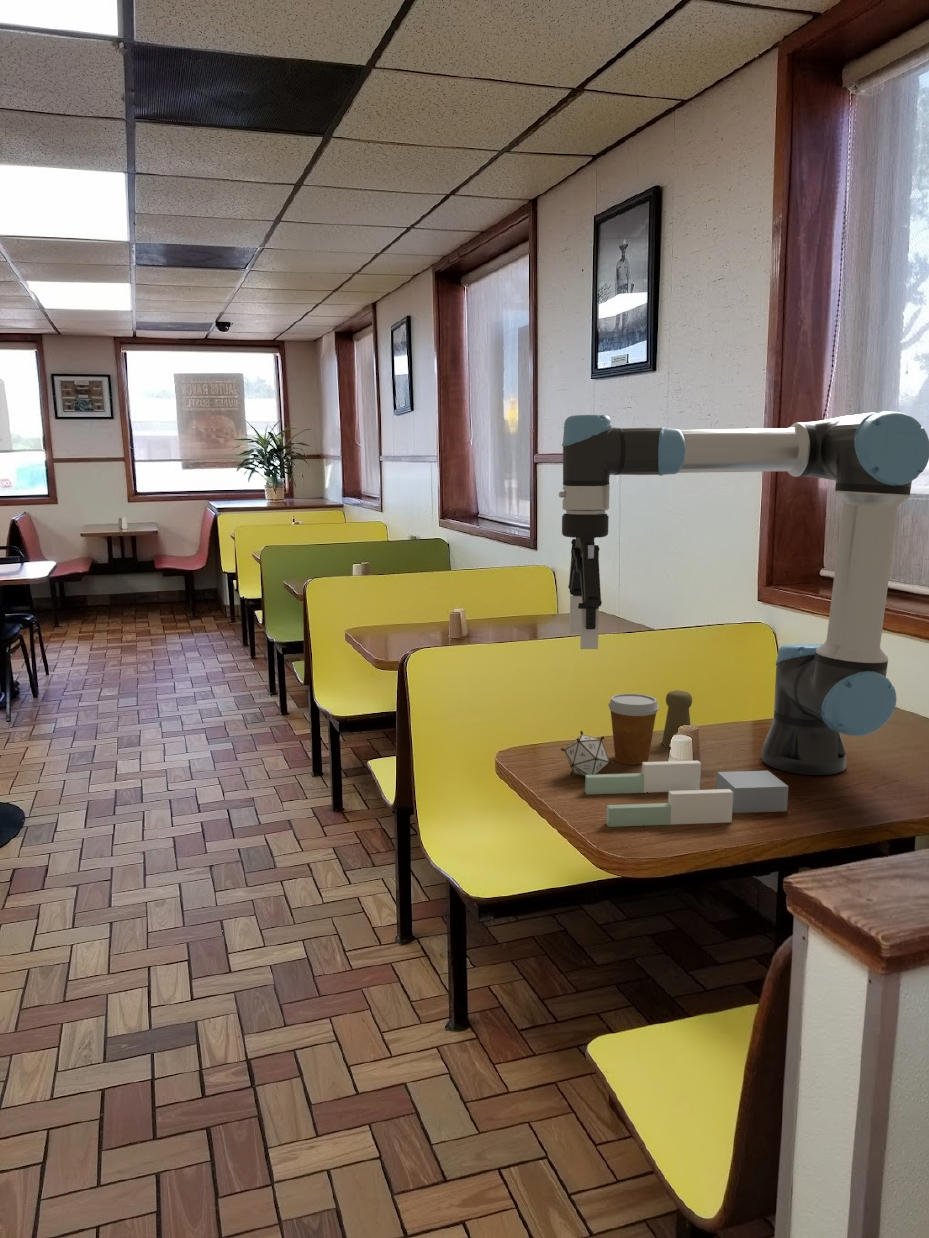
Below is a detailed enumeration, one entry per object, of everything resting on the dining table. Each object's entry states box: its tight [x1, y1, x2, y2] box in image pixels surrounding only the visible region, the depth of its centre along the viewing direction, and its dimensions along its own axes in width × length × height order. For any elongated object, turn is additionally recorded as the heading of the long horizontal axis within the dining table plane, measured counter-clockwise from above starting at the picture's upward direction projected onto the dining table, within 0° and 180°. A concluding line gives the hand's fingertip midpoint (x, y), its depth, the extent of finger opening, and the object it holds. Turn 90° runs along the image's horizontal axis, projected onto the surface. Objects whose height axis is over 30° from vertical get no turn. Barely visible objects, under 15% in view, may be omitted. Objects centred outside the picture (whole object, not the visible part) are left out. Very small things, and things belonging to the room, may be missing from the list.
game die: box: [560, 730, 614, 777], centre depth 168 cm, size 9×8×10 cm
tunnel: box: [584, 760, 733, 828], centre depth 154 cm, size 20×16×5 cm
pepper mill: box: [661, 689, 693, 748], centre depth 188 cm, size 6×6×11 cm
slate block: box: [716, 770, 789, 814], centre depth 156 cm, size 9×8×4 cm
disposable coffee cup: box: [607, 693, 660, 766], centre depth 178 cm, size 10×10×12 cm
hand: (583, 640), depth 155 cm, fingers open, 13 cm apart
